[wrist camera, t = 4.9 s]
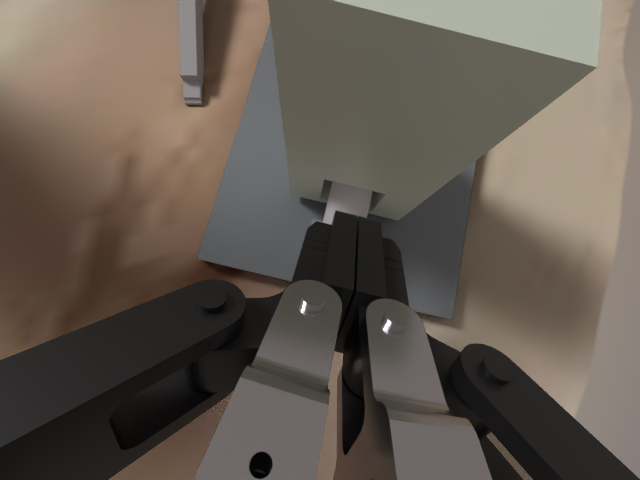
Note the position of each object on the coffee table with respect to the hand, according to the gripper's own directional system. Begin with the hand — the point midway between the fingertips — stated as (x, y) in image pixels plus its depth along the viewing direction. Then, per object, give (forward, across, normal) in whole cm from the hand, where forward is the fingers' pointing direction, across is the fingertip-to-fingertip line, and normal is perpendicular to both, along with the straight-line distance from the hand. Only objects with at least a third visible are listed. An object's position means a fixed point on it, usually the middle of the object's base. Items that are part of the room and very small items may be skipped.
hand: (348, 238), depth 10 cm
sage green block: (+8, 0, 0) cm, 8 cm away
